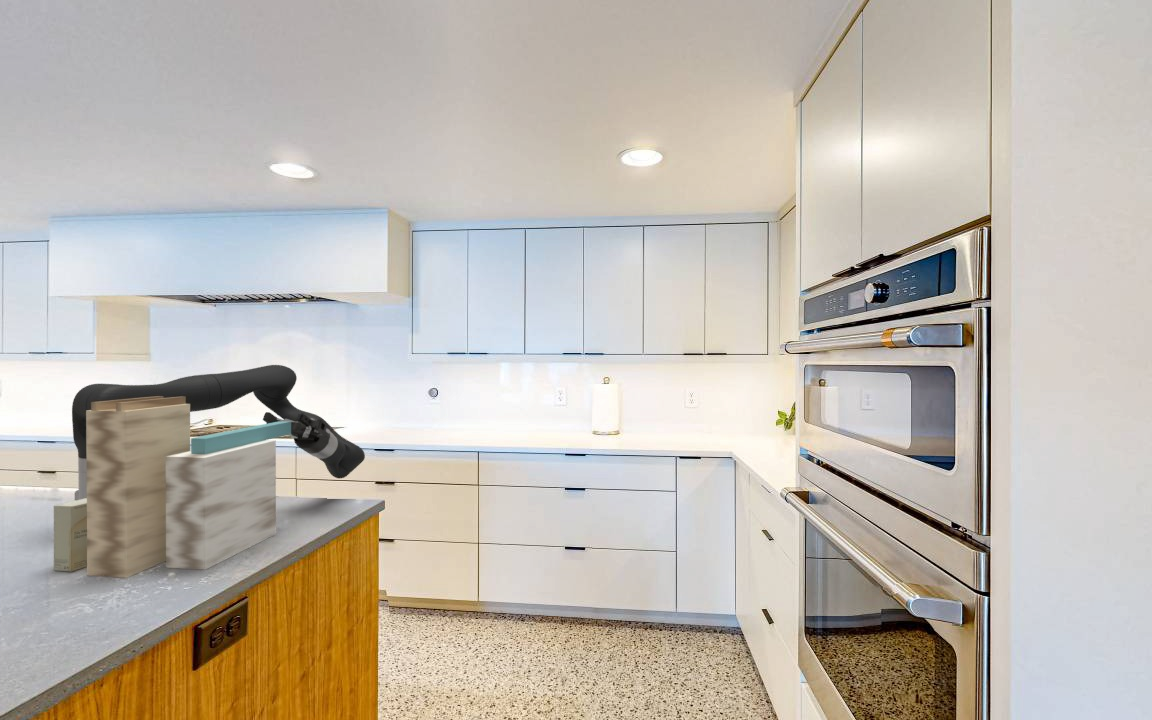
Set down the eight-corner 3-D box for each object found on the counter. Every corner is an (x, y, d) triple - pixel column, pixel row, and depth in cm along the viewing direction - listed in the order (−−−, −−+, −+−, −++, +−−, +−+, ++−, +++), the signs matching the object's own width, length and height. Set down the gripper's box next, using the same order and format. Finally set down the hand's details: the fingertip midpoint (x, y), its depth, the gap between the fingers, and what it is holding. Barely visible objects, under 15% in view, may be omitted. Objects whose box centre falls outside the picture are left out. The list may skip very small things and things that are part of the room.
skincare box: (71, 572, 100) (70, 506, 99) (52, 570, 100) (51, 505, 100) (107, 560, 106) (106, 497, 106) (88, 558, 107) (88, 496, 106)
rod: (191, 453, 105) (191, 438, 105) (279, 433, 131) (279, 421, 131) (205, 454, 104) (205, 438, 104) (291, 434, 130) (291, 421, 130)
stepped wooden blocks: (87, 575, 98) (86, 402, 98) (197, 530, 123) (197, 392, 123) (182, 581, 96) (182, 404, 96) (275, 534, 121) (275, 393, 121)
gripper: (296, 426, 146) (259, 401, 132) (346, 427, 144) (314, 402, 130) (287, 453, 142) (248, 430, 128) (338, 454, 141) (305, 431, 126)
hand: (282, 416), depth 129 cm, fingers open, 8 cm apart
